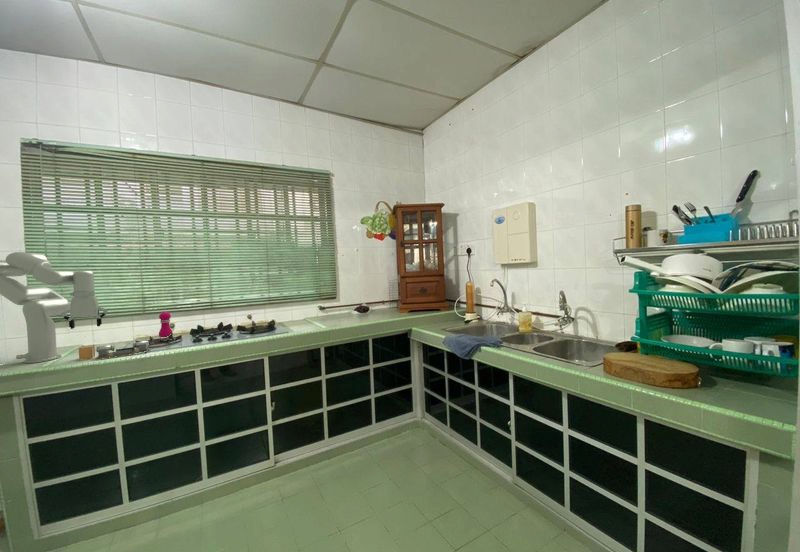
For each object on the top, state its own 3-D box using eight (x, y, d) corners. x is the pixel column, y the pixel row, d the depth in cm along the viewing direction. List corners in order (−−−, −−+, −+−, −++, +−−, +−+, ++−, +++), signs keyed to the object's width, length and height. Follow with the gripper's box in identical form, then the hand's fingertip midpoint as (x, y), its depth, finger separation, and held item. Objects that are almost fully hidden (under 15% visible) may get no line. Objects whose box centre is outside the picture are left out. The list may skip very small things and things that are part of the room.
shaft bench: (94, 360, 154) (94, 347, 154) (100, 355, 162) (99, 344, 162) (147, 353, 165) (147, 341, 165) (150, 349, 174) (149, 338, 174)
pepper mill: (168, 341, 192) (166, 310, 192) (156, 342, 192) (154, 310, 191) (175, 339, 199) (174, 308, 199) (164, 339, 199) (162, 309, 198)
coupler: (91, 358, 157) (91, 347, 157) (78, 360, 155) (78, 348, 155) (95, 356, 162) (94, 344, 162) (82, 357, 160) (82, 346, 160)
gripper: (57, 296, 150) (59, 330, 150) (105, 293, 160) (106, 326, 160) (62, 295, 156) (64, 328, 157) (108, 293, 166) (110, 324, 166)
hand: (85, 327), depth 158 cm, fingers open, 9 cm apart
